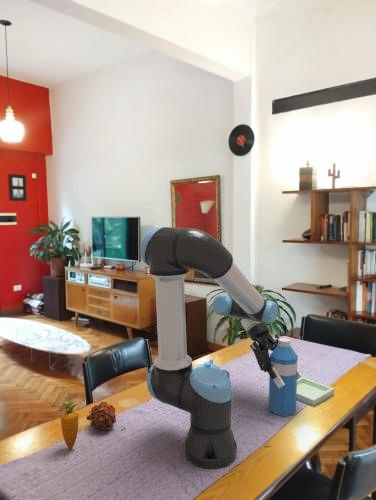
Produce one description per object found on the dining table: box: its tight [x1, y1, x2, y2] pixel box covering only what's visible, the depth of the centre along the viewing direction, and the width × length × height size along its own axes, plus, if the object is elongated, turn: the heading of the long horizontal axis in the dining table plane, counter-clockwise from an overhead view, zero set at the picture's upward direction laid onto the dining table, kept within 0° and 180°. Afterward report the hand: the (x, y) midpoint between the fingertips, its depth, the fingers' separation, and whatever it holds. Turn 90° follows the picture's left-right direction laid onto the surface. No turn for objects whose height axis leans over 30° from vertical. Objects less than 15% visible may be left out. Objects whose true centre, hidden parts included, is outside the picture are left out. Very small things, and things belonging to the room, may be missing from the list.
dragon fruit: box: [85, 401, 117, 431], centre depth 128 cm, size 8×8×12 cm
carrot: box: [60, 398, 79, 450], centre depth 115 cm, size 5×5×15 cm
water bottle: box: [268, 337, 298, 417], centre depth 137 cm, size 9×9×25 cm
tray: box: [296, 376, 335, 408], centre depth 150 cm, size 14×14×2 cm
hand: (290, 382), depth 135 cm, fingers closed on water bottle, 9 cm apart
